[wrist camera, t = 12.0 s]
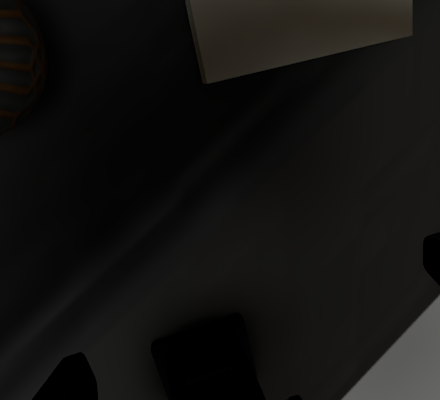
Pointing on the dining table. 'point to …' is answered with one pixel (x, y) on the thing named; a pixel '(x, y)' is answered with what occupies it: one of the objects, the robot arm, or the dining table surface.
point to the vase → (19, 63)
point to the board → (287, 31)
